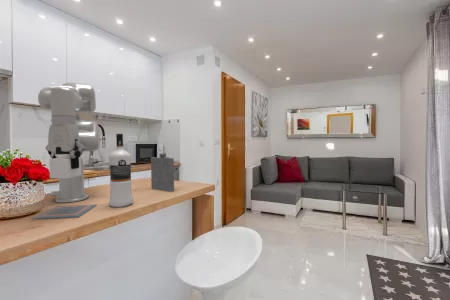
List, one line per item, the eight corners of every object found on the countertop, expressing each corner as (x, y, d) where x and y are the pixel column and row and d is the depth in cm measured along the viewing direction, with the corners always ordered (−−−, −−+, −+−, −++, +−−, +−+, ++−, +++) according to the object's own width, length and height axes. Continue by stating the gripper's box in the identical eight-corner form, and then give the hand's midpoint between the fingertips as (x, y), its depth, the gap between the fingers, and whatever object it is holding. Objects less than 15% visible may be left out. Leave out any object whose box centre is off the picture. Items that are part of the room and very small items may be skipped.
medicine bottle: (81, 175, 90) (80, 145, 90) (67, 178, 83) (66, 145, 82) (64, 175, 91) (63, 145, 90) (49, 178, 84) (48, 145, 83)
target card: (32, 219, 79) (31, 218, 79) (57, 207, 94) (57, 205, 94) (78, 217, 81) (78, 215, 81) (96, 205, 96) (96, 204, 96)
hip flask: (150, 188, 129) (149, 153, 128) (155, 187, 132) (155, 152, 131) (171, 191, 120) (170, 153, 119) (176, 190, 124) (176, 153, 123)
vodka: (132, 200, 103) (130, 134, 102) (134, 205, 95) (132, 133, 94) (109, 203, 99) (107, 133, 98) (109, 208, 91) (106, 133, 90)
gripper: (34, 121, 84) (36, 169, 85) (75, 120, 81) (77, 170, 81) (53, 122, 91) (55, 166, 92) (91, 121, 88) (93, 167, 89)
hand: (65, 168), depth 87 cm, fingers closed on medicine bottle, 7 cm apart
